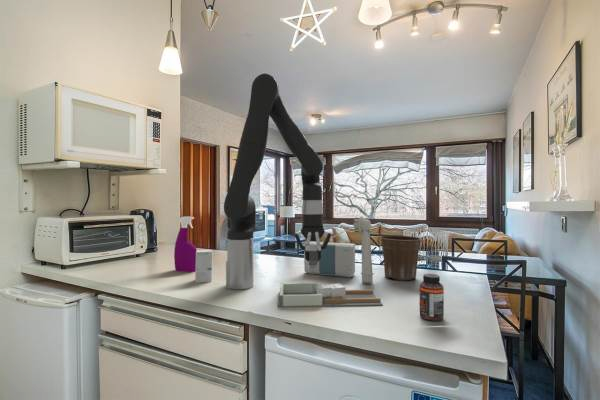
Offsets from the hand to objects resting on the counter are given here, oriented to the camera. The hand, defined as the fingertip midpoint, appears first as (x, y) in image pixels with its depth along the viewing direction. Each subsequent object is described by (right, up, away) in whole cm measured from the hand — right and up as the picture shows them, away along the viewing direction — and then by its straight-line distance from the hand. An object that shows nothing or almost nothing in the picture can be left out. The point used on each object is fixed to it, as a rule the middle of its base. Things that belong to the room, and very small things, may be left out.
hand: (313, 260), depth 113 cm
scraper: (0, -2, +6) cm, 7 cm away
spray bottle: (-54, -10, +23) cm, 60 cm away
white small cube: (+7, -9, -14) cm, 18 cm away
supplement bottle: (+30, -10, -29) cm, 43 cm away
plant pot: (+36, -10, +15) cm, 40 cm away
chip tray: (-5, -10, -14) cm, 18 cm away
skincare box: (-41, -10, +7) cm, 43 cm away
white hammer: (+20, -10, +6) cm, 23 cm away
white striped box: (+8, -10, +20) cm, 23 cm away
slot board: (+4, -10, -14) cm, 17 cm away
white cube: (+2, -9, -15) cm, 18 cm away
